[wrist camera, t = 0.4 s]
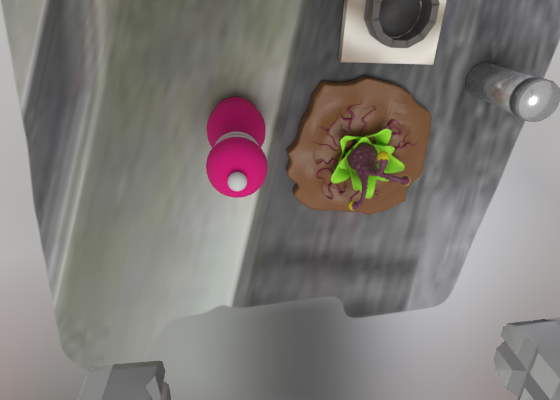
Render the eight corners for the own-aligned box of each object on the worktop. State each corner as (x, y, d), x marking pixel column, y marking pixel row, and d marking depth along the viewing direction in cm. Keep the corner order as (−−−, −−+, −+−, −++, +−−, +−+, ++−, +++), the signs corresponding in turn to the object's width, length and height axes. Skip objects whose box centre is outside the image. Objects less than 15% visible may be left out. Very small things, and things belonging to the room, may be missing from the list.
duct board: (349, -51, 46) (360, -54, 42) (449, -45, 47) (469, -48, 43) (338, 60, 51) (346, 66, 47) (428, 62, 53) (443, 68, 49)
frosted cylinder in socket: (469, 61, 53) (528, 79, 42) (502, 62, 54) (568, 80, 43) (460, 96, 55) (514, 122, 45) (492, 96, 56) (552, 122, 45)
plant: (444, 89, 55) (490, 111, 45) (400, 212, 64) (430, 254, 54) (302, 64, 51) (318, 83, 42) (276, 198, 60) (284, 240, 50)
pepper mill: (207, 92, 51) (194, 147, 34) (264, 93, 52) (279, 148, 35) (209, 145, 55) (198, 220, 37) (262, 146, 56) (275, 220, 38)
